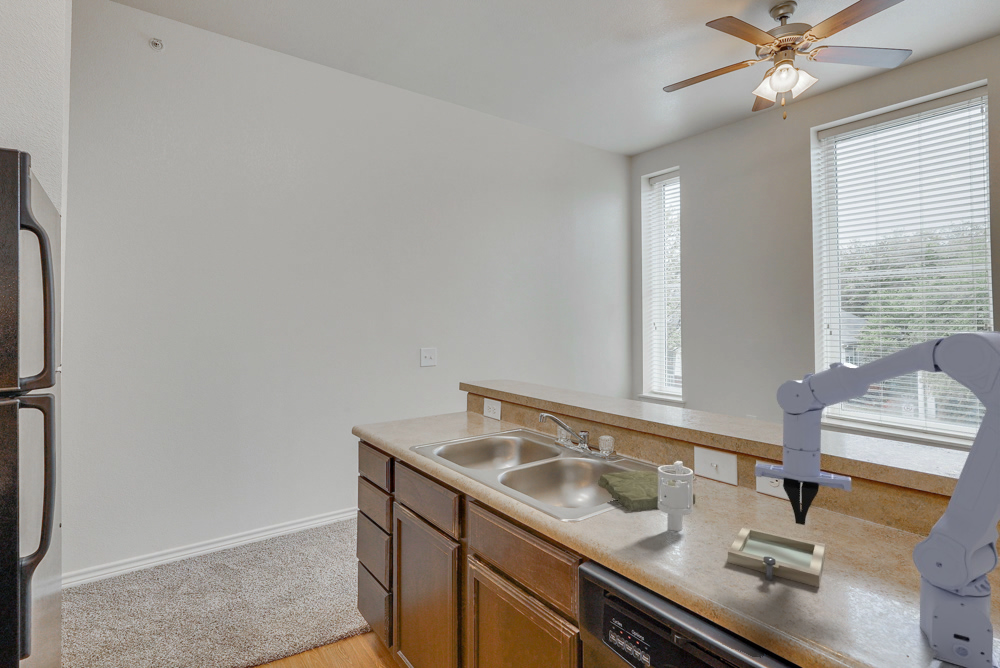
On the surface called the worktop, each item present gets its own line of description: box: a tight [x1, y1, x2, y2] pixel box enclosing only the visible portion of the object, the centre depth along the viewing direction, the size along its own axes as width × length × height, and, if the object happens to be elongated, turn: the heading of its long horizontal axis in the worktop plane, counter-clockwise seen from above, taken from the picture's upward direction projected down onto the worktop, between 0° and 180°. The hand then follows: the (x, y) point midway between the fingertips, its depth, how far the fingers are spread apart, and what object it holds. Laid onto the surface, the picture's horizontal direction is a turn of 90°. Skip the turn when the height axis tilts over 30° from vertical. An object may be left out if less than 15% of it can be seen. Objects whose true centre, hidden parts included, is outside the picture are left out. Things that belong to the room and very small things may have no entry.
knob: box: [763, 557, 776, 582], centre depth 83 cm, size 2×2×5 cm
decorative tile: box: [597, 470, 696, 512], centre depth 129 cm, size 19×20×4 cm
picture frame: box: [727, 525, 826, 588], centre depth 90 cm, size 15×14×2 cm
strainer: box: [657, 460, 694, 532], centre depth 104 cm, size 7×7×15 cm
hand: (800, 522), depth 87 cm, fingers closed
